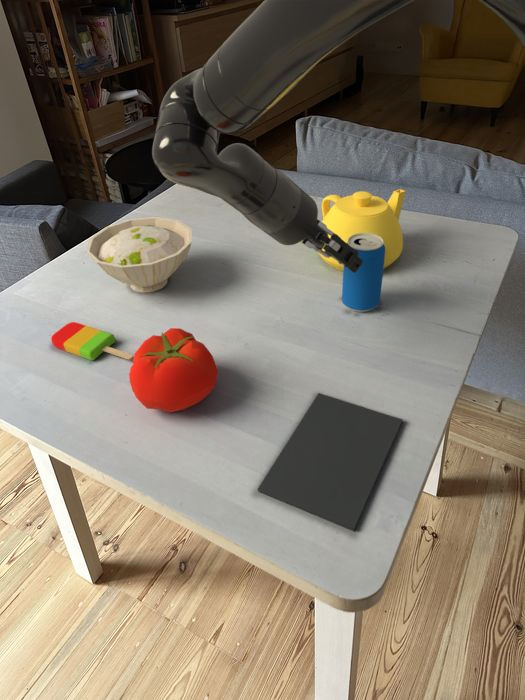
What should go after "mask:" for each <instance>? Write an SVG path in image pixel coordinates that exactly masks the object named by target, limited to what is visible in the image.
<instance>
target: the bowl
mask: <svg viewBox="0 0 525 700" xmlns="http://www.w3.org/2000/svg"><path fill="white" fill-rule="evenodd" d="M192 243H193V228H191V227H190V226H188V225H187V224H185V223H183V222H182V221H181V220H179V219H174V218H167V217H161V216H149V217H139V218H129V219H126V220H123V221H120V222H117V223H114V224H111V225H108V226H105V227H104V228H102V229H101V230H100V231H98V232H97V233H96V234H94V235H93V236H91V237H90V238H89V239H88V243H87V245H86V249H85V253H86V254H87V255H88V256H89V257H90V258H91V259H92V261H94V262H95V264H96V265H97V266H99V268H100V269H102V270H103V271H104V272H105V274H107V275H108V276H110V277H111V278H113V279H115V280H117V281H118V282H120V283H122V284H126V285H130V288H131V289H132V290H133V291H134V292H138V293H143V294H145V293H153V292H156V291H159V290H161V289H163V288H164V287H165V286H166V285H167V284H168V279H169V278H170V277H171V276H172V275H173V274H174V273H175V272H176V271H177V270H178V268H179V267H180V266H181V265H182V263H183V262H184V261H185V259H186V258H187V256H188V255H189V251H190V248H191V246H192Z"/></svg>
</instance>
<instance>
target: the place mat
mask: <svg viewBox="0 0 525 700" xmlns="http://www.w3.org/2000/svg"><path fill="white" fill-rule="evenodd" d="M402 424H403V419H402V418H399V417H396V416H393V415H389V414H386V413H383V412H380V411H376V410H373V409H372V408H371V409H370V408H368V407H365V406H361V405H358V404H355V403H351V402H348V401H345V400H342V399H339V398H335V397H334V396H329V395H326V394H323V393H320V392H318V393H317V395H316V396H315V398H314V399H313V401H312V403H310V406H309V407H308V408H307V410H306V412H305V414H304V415H303V417H302V418H301V420H300V422H299V423H298V425H297V426H296V428H295V429H294V431H293V432H292V434H291V435H290V437H289V438H288V440H287V442H286V443H285V445H284V446H283V448H282V450H281V452H280V453H279V455H278V456H277V457H276V459H275V461H274V462H273V464H272V466H271V467H270V468H269V470H268V471H267V473H266V475H265V476H264V478H263V479H262V481H261V482H260V484H259V486H258V488H257V492H258V493H261V494H263V495H265V496H268V497H270V498H272V499H275V500H278V501H279V502H282V503H285V504H287V505H289V506H291V507H292V506H293V507H294V508H297V509H299V510H301V511H304V512H307V513H309V514H311V515H313V516H316V517H318V518H321V519H322V520H325V521H328V522H330V523H333V524H335V525H337V526H340V527H343V528H345V529H347V530H350V531H352V532H355V531H356V528H357V526H358V524H359V521H360V519H361V517H362V515H363V512H364V510H365V508H366V506H367V503H368V501H369V499H370V496H371V494H372V492H373V490H374V487H375V485H376V483H377V481H378V478H379V476H380V474H381V472H382V469H383V467H384V465H385V464H386V463H385V462H386V460H387V458H388V455H389V453H390V451H391V449H392V446H393V444H394V442H395V440H396V438H397V435H398V433H399V432H400V429H401V426H402Z"/></svg>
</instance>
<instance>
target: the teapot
mask: <svg viewBox="0 0 525 700" xmlns="http://www.w3.org/2000/svg"><path fill="white" fill-rule="evenodd" d="M405 196H406V190H404V189H401V188H400V189H396V190H393V191H392V194H391V196H390V197H389V199H388V201H386V200H385V199H384V198H382V197H380V196H377V195H373V194H372V193H371V192H369V191H364V190H360V191H356V192H353V194H350V195H347V196H344V197H342V196H340V195H339V194H328V195H327V196H325V197H324V198H323V200H322V201H321V214H322V218H323V220H320V221H321V222H323V223H324V224H325V225H326V226H327V228H328V229H329V230H331V231H332V232H334V233H335V234H337V235H338V236H339V237H341V239H342V240H343V241H344V242H346V243H347V242H348V238H349V237H350V236H352V235H355V234H358V233H371V234H375V235H378V236H380V237H381V238H382V239H383V241H384V243H383V244H384V246H385V259H384V268H383V270H384V269H386V268H388V267H389V266H390V265H392V264H393V263H395V261H396V260H397V259H399V257H400V255H401V253H402V252H403V248H404V239H403V237H404V236H403V231H402V228H401V225H400V224H401V223H400V222H399V219H400V215H401V212H402V207H403V204H404V199H405ZM331 202H333V203H334V204H333V205H332V206H331V205H330V204H331ZM328 236H329V238H330V237H331V236H330V235H329V234H328ZM323 248H324V247H323ZM322 250H323V251H325V250H324V249H322ZM317 254H318V255H319V257H320V258H321V259H322V260H323V261H324V262H325V263H326V264H327V265H329V266H330V267H332V268H333V269H335V270H338V271H340V272H343V269H344V265H342V264H339V263H338V261H336V260H335V259H333V258H332V257H330V258H327V257H324V256H323V255H322V254H320V253H319V252H317Z"/></svg>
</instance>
